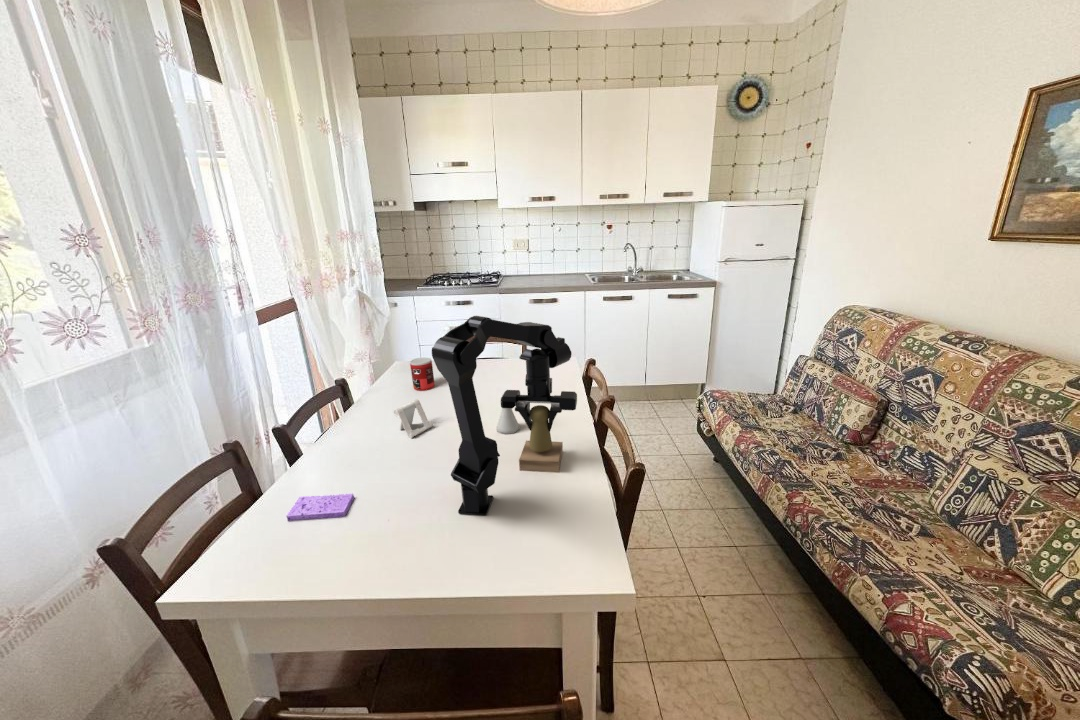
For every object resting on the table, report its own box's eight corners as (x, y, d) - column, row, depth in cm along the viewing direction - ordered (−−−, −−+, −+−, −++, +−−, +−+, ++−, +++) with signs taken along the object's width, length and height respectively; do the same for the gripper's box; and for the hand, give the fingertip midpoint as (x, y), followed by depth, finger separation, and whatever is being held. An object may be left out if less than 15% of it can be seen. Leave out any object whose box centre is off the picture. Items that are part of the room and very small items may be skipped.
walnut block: (558, 472, 110) (558, 461, 109) (519, 470, 112) (519, 460, 111) (562, 451, 119) (562, 442, 118) (526, 450, 121) (526, 440, 120)
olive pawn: (524, 448, 113) (523, 409, 109) (536, 438, 118) (534, 400, 114) (545, 453, 110) (544, 414, 107) (556, 443, 115) (555, 405, 112)
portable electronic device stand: (412, 439, 130) (408, 413, 127) (394, 433, 134) (390, 408, 131) (433, 427, 136) (430, 402, 134) (416, 421, 141) (412, 398, 138)
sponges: (301, 503, 103) (299, 496, 102) (355, 499, 104) (354, 492, 103) (287, 523, 96) (285, 516, 96) (345, 518, 97) (343, 511, 96)
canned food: (412, 386, 170) (408, 359, 167) (432, 382, 173) (429, 355, 170) (415, 392, 164) (411, 365, 160) (436, 388, 167) (433, 361, 163)
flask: (516, 435, 129) (514, 404, 126) (493, 433, 131) (490, 403, 128) (522, 424, 136) (520, 394, 133) (499, 422, 137) (497, 393, 134)
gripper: (578, 363, 114) (578, 417, 119) (508, 362, 117) (511, 415, 121) (575, 378, 103) (575, 437, 108) (498, 376, 106) (502, 434, 111)
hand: (540, 430), depth 112 cm, fingers closed on olive pawn, 4 cm apart
